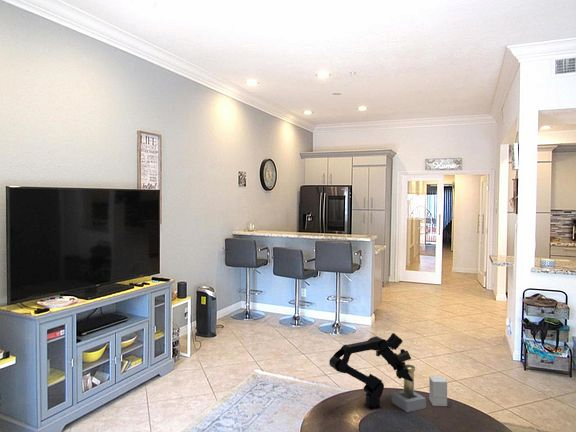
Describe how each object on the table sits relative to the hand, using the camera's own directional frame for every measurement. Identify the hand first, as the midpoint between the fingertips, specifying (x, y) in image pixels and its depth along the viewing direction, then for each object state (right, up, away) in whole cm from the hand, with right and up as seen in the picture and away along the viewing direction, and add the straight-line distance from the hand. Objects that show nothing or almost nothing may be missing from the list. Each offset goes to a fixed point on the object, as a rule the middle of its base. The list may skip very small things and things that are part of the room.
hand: (411, 379), depth 209 cm
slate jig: (-2, -13, 0) cm, 14 cm away
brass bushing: (-1, -7, 0) cm, 7 cm away
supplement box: (+15, -14, +3) cm, 21 cm away
